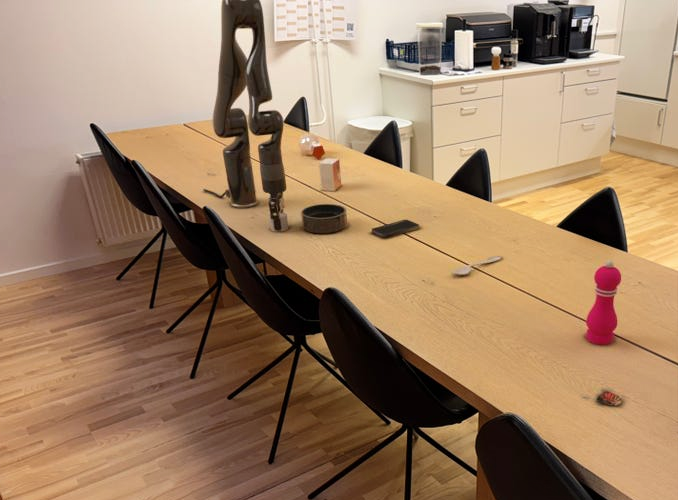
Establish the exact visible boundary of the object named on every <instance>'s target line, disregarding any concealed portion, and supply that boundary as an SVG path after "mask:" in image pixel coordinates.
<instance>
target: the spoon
mask: <svg viewBox="0 0 678 500" xmlns="http://www.w3.org/2000/svg"><path fill="white" fill-rule="evenodd" d="M501 259H502V256H501V257H500V256H494V257H492V258H489V259H486V260H483V261H480V262H476V263H472V264H468V265H465V266H462V267H459V268H457V269H454V270H452V271H451V273H452V274H454V275H458V276H465V275H468V274H469V273H471V268H472V267H474V266H478V265H484V264H490V263H494V262H497V261H500V260H501Z"/></svg>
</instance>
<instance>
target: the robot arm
mask: <svg viewBox="0 0 678 500" xmlns="http://www.w3.org/2000/svg"><path fill="white" fill-rule="evenodd" d="M220 6H221V7H220V15H221V16H220V31H221V32H220V52H219V59H218V60H219V61H218V71H217V72H218V73H217V88H216V96H215V103H214V107H213V112H212V128H213V129H212V130H213V131H214V134H215V135H216V136H217V137H218V138H220V139H231V138H234V139H233V141H232V142H231V143H230V144H228V145H227V146H224V148H223V149H222V157H223V162H224V169H225V174H226V175H225V176H226V183H227V189H225V190H224V191H225V192H223V193H222V194H221V195H220V194H218V193H217V192H215V191H212V190H210V189H206V188H203V190H202V191H204V192H206V193H209V194H212V195H214V196H215V197H217V198H220V199H221V198H224V197H226V198H228V199H229V200H230V206H231V207H233V208H237V209H238V208H239V209H245V208H251V207H254V206H256V205H258V198H257V189H256V185H255V184H256V183H255V178H254V177H255V176H254V170H253V164H252V157H251V156H252V155H251V142H250V132H251V134H252V135H253V136H256V137H262V136H270V138H269V139H268V140H266V141H263V142H260V143H259V144H258V146H257V152H258V159H259V173H260V179H261V186H262V191H263V192H264V193H265V194H269V197H268V204H267V205H268V209H269V215H271V219H273V222H274V229H275V230H281V220H280V218H281V217H280V212H282V213H285V202H284V201H285V200H284V192H286V191H287V179H286V172H285V166H284V163H283V155H282V154H283V153H282V140H283V139H282V138H283V132H284V125H285V123H284V117H283V115H282V113H281V112H280V111H279V110H276V109H269V110H261V111H260V109H259V108H260V106H261V105H263V104H267V103H269V102H271V101H272V100H273V91H272V85H271V81H270V76H269V70H268V69H269V68H268V61H267V45H266V44H267V43H266V30H265V18H264V10H263V5H262V3H261V0H221V5H220ZM241 29H242V30H243V29H244V30H245V29H248V30H249V29H250V30H251V33H252V45H251V48H250V51H249V55H248V57H247V56H246V54H245V52H244V50H243V48H241V46H240V44H239V42H238V41H237V37H236V33H237V30H241ZM245 90H247V95H248V101H249V102H248V117H247V115H246V112H245V111H244V110H243V109H242V108H240V107H233V108H232V106H233V105H234V103H235V102H236V101H237V100H238V99H239V98H240V96H241V95H242V94H243V93H244V91H245ZM274 213H276V214H277V215H274Z"/></svg>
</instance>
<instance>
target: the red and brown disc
mask: <svg viewBox="0 0 678 500" xmlns="http://www.w3.org/2000/svg"><path fill="white" fill-rule="evenodd" d="M621 398H622V396H621V395H620V394H617V393H614V391H610V390H608V389H604V390H603V391H602V392H601V393H600V394H599V395H597V398H596V401H598V402H599V403H601V404H602V403H603V404H605V405H609V406H619V405H621V402H622V400H620V399H621Z"/></svg>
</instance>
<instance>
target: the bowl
mask: <svg viewBox="0 0 678 500" xmlns="http://www.w3.org/2000/svg"><path fill="white" fill-rule="evenodd" d="M300 216H301V226H302V227H301V228H302V229H304V230H305V231H307V232H309V233H312V234H321V235H323V234H325V235H326V234H333V233H336V232H339V231H342V230H344V229H345V228H347V226H348V215H347V208H345V206H343V205H339V204H334V203H320V204H314V205H309V206H307V207H304V208H303V209H302V210H300Z"/></svg>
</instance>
